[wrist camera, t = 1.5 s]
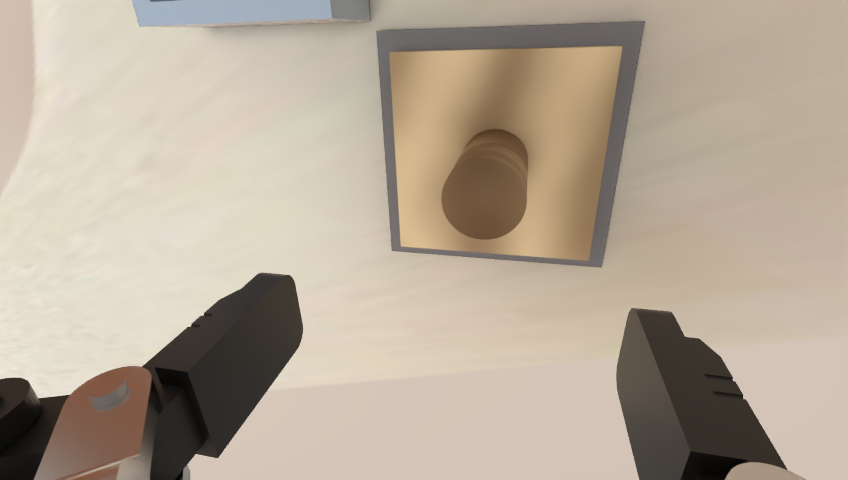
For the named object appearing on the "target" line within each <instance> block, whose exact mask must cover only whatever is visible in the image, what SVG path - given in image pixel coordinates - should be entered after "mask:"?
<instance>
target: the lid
mask: <svg viewBox="0 0 848 480" xmlns="http://www.w3.org/2000/svg"><path fill="white" fill-rule="evenodd" d="M622 47H623V46H587V47H547V48H507V49H467V50H427V51H394V52H389V57H390V74H391V91H392V107H393V124H394V141H395V158H396V174H397V191H398V208H399V225H400V242H401V247H414V248H427V249H440V250H453V251H466V252H479V253H493V254H506V255H519V256H532V257H545V258H558V259H571V260H584V261H589V256H590V250H591V244H592V237H593V231H594V225H595V218H596V212H597V206H598V199H599V193H600V187H601V180H602V174H603V168H604V161H605V155H606V149H607V142H608V136H609V130H610V123H611V117H612V111H613V104H614V98H615V92H616V85H617V79H618V73H619V66H620V60H621V54H622Z"/></svg>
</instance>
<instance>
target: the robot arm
mask: <svg viewBox="0 0 848 480" xmlns="http://www.w3.org/2000/svg"><path fill="white" fill-rule="evenodd" d="M302 333H303V324H302V319H301V313H300V308H299V303H298V297H297V292H296V287H295V282H294V280H293V278H292V277H291V276H290V275H282V274H271V273H259V274H257V275H256V276H255V277H254V278H253V279H252V280H251V281H249V282H248V283H247V284H246V285H245V286H244V287H243V288H242V289H240V290H238V291H236V292H234V293H232V294H230V295H228V296H226V297H224V298H222V299H220V300H219V301H217V302H216V303H215V304H214V305H213V306H212V307H211V308H209V309H208V310H207V311H206V312H205V313H204V316H200V317H199V318H198V319H197V320H196V321H194V322H193V323H192V325H191V327H187V328H186V329H185V330H184V331H183V332H182V333H181V334H179V335H178V336H177V337H176V338H175V339H174V340H172V341H171V342H170V343H169V344H168V345H167V346H166V347H164V348H163V349H162V350H161V351H160V352H159V353H157V354H156V355H155V356H154V357H153V358H152V359H150V360H149V361H148V362H147V363H146V364H145V365H144V366H142V367H138V366H128V367H121V368H117V369H113V370H110V371H107V372H105V373H102V374H100V375H98V376H96V377H94V378H92V379H90V380H88V381H87V382H85V383H84V384H82V385H81V386H80V387H78V388H77V389H76V390H75V391H74V392H73V393H72V394H71V395H65V396H56V397H47V398H39V399H38V397H37V396H36V394H35V392H34V390H33V389H32V387H31V385H30V383H29V382H28V381H27V380H25V379H22V378H5V379H0V480H190V470H189V467H188V465H187V464H188V463H189V461H190V460H191V459H192V458H193V457H194V455H195V454H199V455H204V456H209V457H215V458H218V457H219V456H220V455H221V453H222V452H223V450H224V449H225V448H226V446H227V445H228V444H229V442H230V441H231V439H232V438H233V437H234V435H235V434H236V433H237V431H238V430H239V428H240V427H241V426H242V424H243V423H244V422H245V420H246V419H247V417H248V416H249V415H250V413H251V412H252V410H253V409H254V408H255V406H256V405H257V404H258V402H259V401H260V400H261V398H262V397H263V395H264V394H265V393H266V391H267V390H268V389H269V387H270V386H271V385H272V383H273V382H274V380H275V379H276V378H277V376H278V375H279V374H280V372H281V371H282V369H283V368H284V367H285V365H286V364H287V363H288V361H289V360H290V358H291V357H292V356H293V354H294V353H295V352H296V350H297V349H298V347H299V345H300V342H301V339H302ZM732 379H733V377H732V375H731V374H730V372H729V370H728V369H727V367H726V365H725V363H724V362H723V360H722V358H721V357H720V356H719V355H718V354H716V353H715V352H714V351H713V350H712V349H711V348H710V347H708V346H707V345H706V344H705V343H704V342H702V341H701V340H700V339H698V338H688V337H685V336H684V334H683V332H682V330H681V328H680V326H679V325H678V323H677V321H676V319H675V317H674V315H673V314H672V313H671V312H668V311H657V310H647V309H636V308H632V309H631V310H630V312H629V314H628V318H627V322H626V327H625V331H624V336H623V340H622V345H621V350H620V354H619V359H618V364H617V390H618V395H619V399H620V403H621V407H622V411H623V416H624V419H625V423H626V428H627V432H628V436H629V440H630V444H631V448H632V452H633V456H634V460H635V464H636V468H637V472H638V476H639V480H805V479H804V478H802V477H800V476H798V475H796V474H794V473H792V472H790V471H788V470H787V468H786V467H785V465H784V463H783V461H782V460H781V458H780V456H779V455H778V453H777V451H776V450H775V448H774V446H773V444H772V443H771V441H770V439H769V438H768V436H767V434H766V433H765V431H764V429H763V428H762V426H761V424H760V423H759V421H758V419H757V418H756V416H755V414H754V413H753V411H752V409H751V407H750V406H749V404H748V402H747V401H746V400H745V399H743V394H742V392H741V391H740V389H739V387H738V385H737V384H736V382H734V381H733V380H732Z"/></svg>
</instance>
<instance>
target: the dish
mask: <svg viewBox="0 0 848 480" xmlns="http://www.w3.org/2000/svg"><path fill="white" fill-rule="evenodd" d="M132 2H133V6H134V9H135V13H136V16H137V20H138V23H139V26H140V27H203V28H210V27H235V26H259V25H283V24H307V23H331V22H355V21H370V8H369V0H132Z"/></svg>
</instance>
